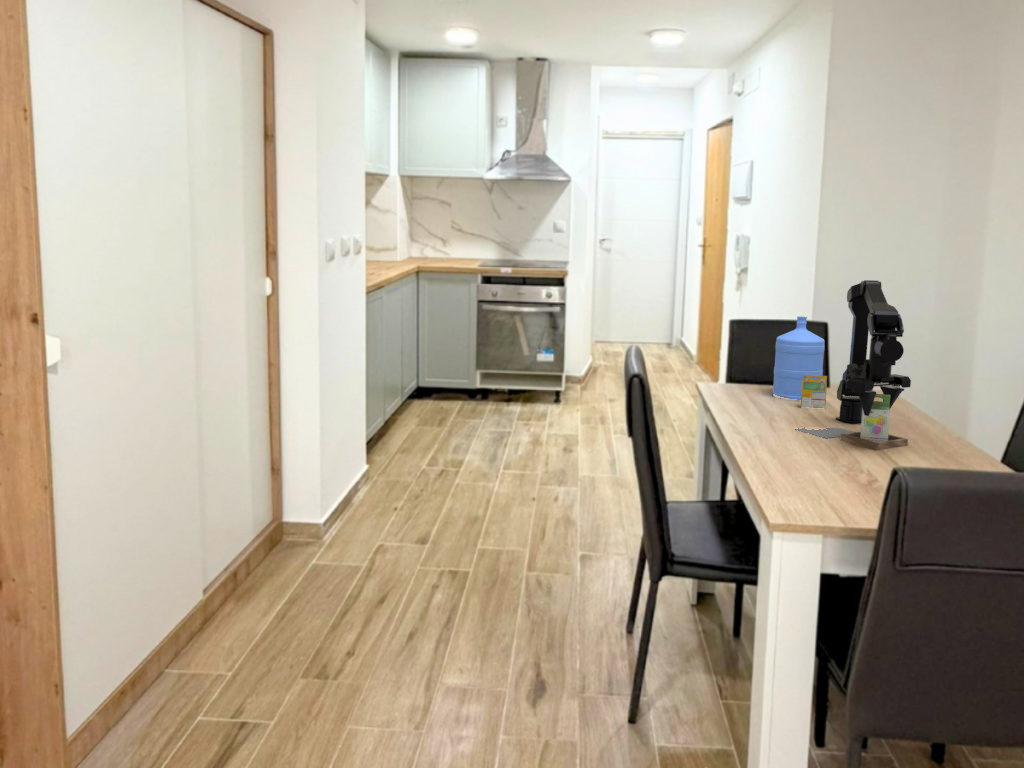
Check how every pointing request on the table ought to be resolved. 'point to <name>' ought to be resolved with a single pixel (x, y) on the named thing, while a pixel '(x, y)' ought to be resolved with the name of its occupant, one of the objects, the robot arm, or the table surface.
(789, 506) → the table surface
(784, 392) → the water jug
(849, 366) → the robot arm
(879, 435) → the ink box
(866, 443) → the holder
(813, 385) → the crayon box
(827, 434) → the mat
